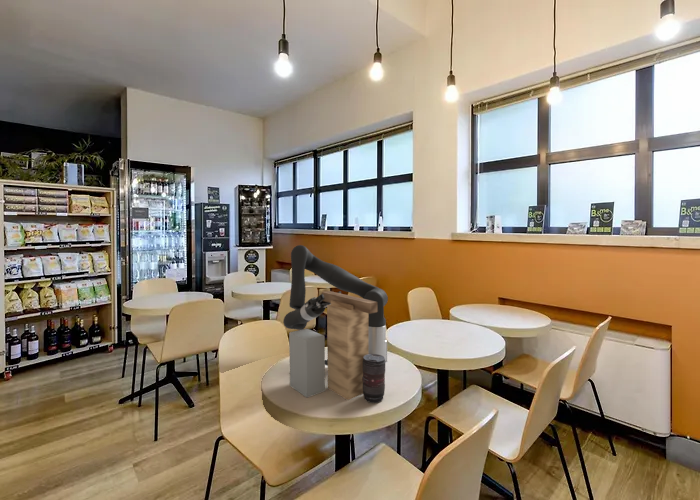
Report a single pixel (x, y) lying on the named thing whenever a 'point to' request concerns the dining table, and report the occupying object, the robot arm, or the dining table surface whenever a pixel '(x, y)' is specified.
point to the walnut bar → (350, 301)
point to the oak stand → (346, 348)
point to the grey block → (307, 362)
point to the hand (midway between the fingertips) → (332, 294)
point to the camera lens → (373, 377)
